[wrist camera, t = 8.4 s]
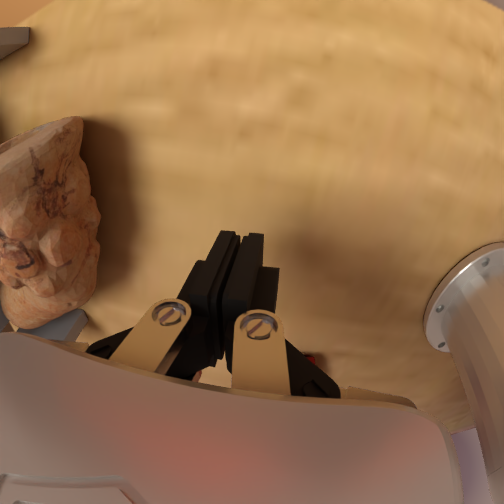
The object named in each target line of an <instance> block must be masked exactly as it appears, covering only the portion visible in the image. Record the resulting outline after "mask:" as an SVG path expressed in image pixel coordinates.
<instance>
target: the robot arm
mask: <svg viewBox="0 0 504 504" xmlns="http://www.w3.org/2000/svg"><path fill="white" fill-rule="evenodd" d="M263 243H264V234H259V233H249V235H248V236H244V237H243V239H242V242H241V245H240V235H236V233H235V231H223V230H221V231H220V233H219V235H218V237H217V239H216V241H215V243H214V245H213V247H212V249H211V250H210V252H209V254H208V256H207V258H206V260H205V261H202V260H198V261H197V262H196V263H195V265H194V267H193V268H192V270H191V272H190V274H189V276H188V278H187V280H186V281H185V283H184V285H183V287H182V289H181V291H180V293H179V295H178V297H177V298H176V299H174V298H172V299H164V300H161V301H159V302H157V303H155V304H154V305H152V306H151V307H150V308H149V310H148V311H147V312H146V313H145V314H144V316H143V317H142V318H141V319H140V321H139V322H138V323H137V324H136V326H135V327H132V328H130V329H127V330H125V331H122V332H120V333H117V334H115V335H112V336H109V337H107V338H104V339H102V340H99V341H97V342H95V343H93V344H92V345H90V346H89V344H88V343H83V342H72V341H62V340H52V339H44V338H41V337H38V336H34V335H30V334H26V333H19V332H3V333H0V504H464V498H463V497H464V495H463V486H462V479H461V472H460V466H459V462H458V457H457V453H456V449H455V446H454V443H453V440H452V438H451V435H450V433H449V431H448V430H447V428H446V427H445V425H444V424H443V423H442V422H441V421H440V420H439V419H437V418H436V417H434V416H432V415H431V414H428V413H426V412H424V411H421V410H418V409H417V408H416V406H415V404H414V403H413V402H412V401H411V400H409V399H408V398H405V397H402V396H396V395H390V394H385V393H379V392H374V391H369V390H365V389H360V388H355V387H351V386H349V387H348V389H345V388H341V387H338V385H337V384H336V383H335V382H334V381H333V380H332V379H331V378H330V377H329V376H328V375H326V374H325V373H324V372H323V371H322V370H321V369H319V368H318V367H317V366H316V365H315V364H314V363H312V362H311V361H310V360H309V359H308V358H307V357H305V356H304V355H303V354H302V353H301V352H300V351H299V350H297V349H296V348H295V347H294V346H293V345H292V344H291V343H289V342H288V341H287V340H286V339H285V337H284V328H283V324H282V321H281V319H280V318H279V317H278V316H277V315H275V308H276V300H277V291H278V280H279V268H273V267H263V266H262V265H263ZM423 325H424V332H425V334H426V337H427V340H428V342H429V343H430V345H431V346H432V347H433V348H435V349H436V350H439V351H442V352H450V353H451V355H452V358H453V360H454V363H455V365H456V368H457V371H458V373H459V376H460V379H461V382H462V384H463V387H464V390H465V393H466V396H467V399H468V402H469V406H470V409H471V412H472V415H473V419H474V422H475V426H476V430H477V433H478V437H479V441H480V445H481V450H482V454H483V459H484V464H485V469H486V474H487V479H488V485H489V491H490V495H491V498H492V501H493V503H494V504H504V242H500V243H493V244H490V245H487V246H485V247H482V248H480V249H479V250H477V251H475V252H473V253H471V254H470V255H469V256H467V257H466V258H465V259H463V260H462V261H461V262H460V263H459V264H457V265H456V266H455V267H454V268H453V269H452V270H451V271H450V272H449V273H448V274H447V276H446V277H445V278H444V279H443V280H442V281H441V283H440V284H439V286H438V287H437V289H436V290H435V292H434V293H433V295H432V297H431V299H430V301H429V303H428V305H427V308H426V311H425V314H424V322H423ZM224 352H225V356H226V361H227V369H228V371H229V372H230V373H231V374H232V381H231V388H227V387H221V386H215V385H209V384H204V383H198V381H199V379H200V377H201V374H202V369H204V368H206V367H208V366H211V367H215V366H216V362H217V359H220V360H222V359H223V356H224Z"/></svg>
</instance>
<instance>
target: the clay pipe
mask: <svg viewBox="0 0 504 504" xmlns="http://www.w3.org/2000/svg"><path fill="white" fill-rule="evenodd" d="M83 126H84V124H83V119H82V118H81V117H78V116H74V117H67V118H63V119H61V120H57V121H53V122H50V123H47V124H44V125H41V126H39V127H36V128H34V129H31V130H29V131H26V132H24V133H22V134H20V135H17V136H15V137H13V138H11V139H10V140H8V141H6V142H4V143H2V144H0V301H1V306H2V310H3V313H4V314H5V316H6V318H7V319H8V320H9V321H10V322H11V323H12V324H14V325H15V326H17V327H19V328H23V329H34V328H38V327H40V326H42V325H45V324H46V323H48V322H50V321H51V320H53V319H56V318H58V317H60V316H62V315H63V314H64V313H67V312H70V311H72V310H74V309H76V308H78V307H80V306H82V305H83V304H85V303H86V302H87V301H88V300H89V299H90V297H91V296H92V295H93V292H94V290H95V288H96V283H97V263H98V259H99V254H100V244H99V243H98V241H97V240H96V235H97V231H98V227H97V226H98V225H99V223H100V220H101V215H100V213H99V211H98V208H97V204H96V200H95V198H94V197H92V196H91V195H90V193H91V186H90V183H89V182H90V177H89V174H88V170H87V166H86V164H85V162H83V161H82V159H81V157H80V156H79V152H80V147H81V142H82V138H83Z"/></svg>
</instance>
